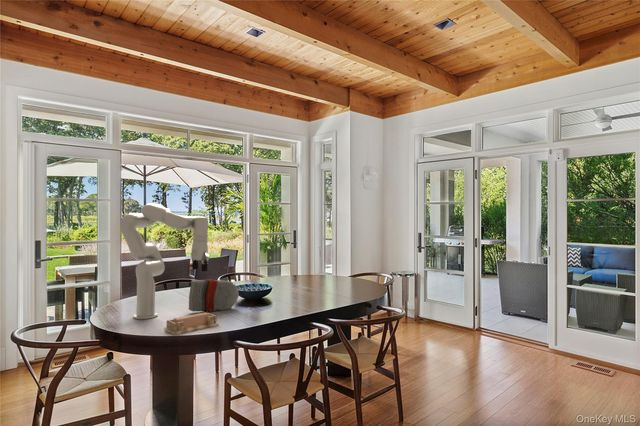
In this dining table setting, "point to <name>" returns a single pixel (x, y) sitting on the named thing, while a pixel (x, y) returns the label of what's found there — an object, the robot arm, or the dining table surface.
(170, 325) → the plank with end blocks
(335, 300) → the dining table surface
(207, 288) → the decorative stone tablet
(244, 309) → the dining table surface
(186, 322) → the clay strip
